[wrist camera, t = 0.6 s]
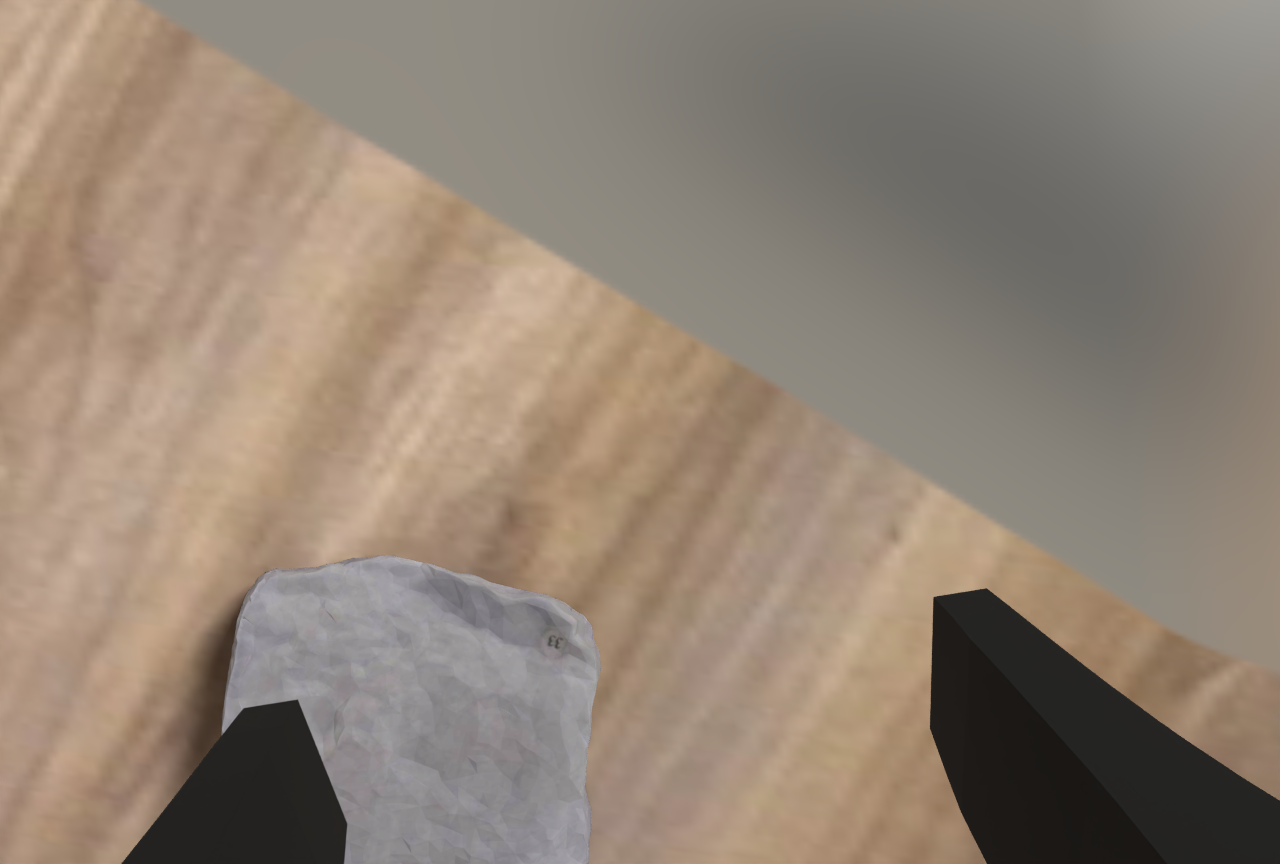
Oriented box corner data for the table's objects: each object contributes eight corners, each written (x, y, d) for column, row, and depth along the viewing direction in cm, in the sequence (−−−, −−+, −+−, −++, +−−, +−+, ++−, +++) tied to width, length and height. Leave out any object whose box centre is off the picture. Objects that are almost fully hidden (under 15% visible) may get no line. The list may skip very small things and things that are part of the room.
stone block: (253, 552, 33) (213, 867, 32) (218, 542, 29) (168, 910, 27) (602, 574, 35) (583, 873, 33) (622, 568, 31) (602, 915, 29)
